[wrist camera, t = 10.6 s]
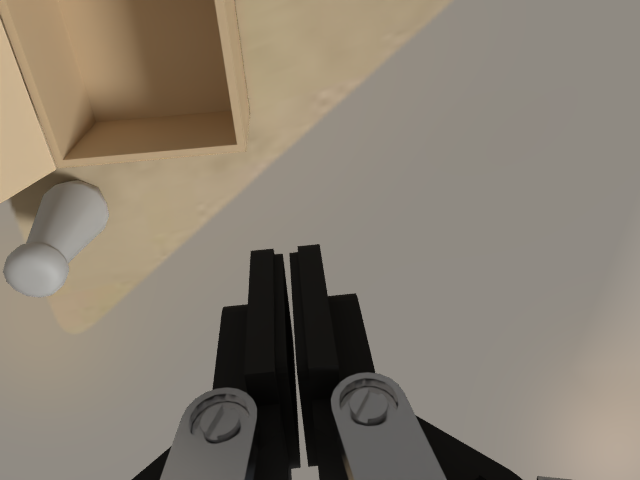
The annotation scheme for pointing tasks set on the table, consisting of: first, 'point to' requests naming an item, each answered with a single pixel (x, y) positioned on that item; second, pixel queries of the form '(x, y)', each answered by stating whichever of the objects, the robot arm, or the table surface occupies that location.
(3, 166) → the flap
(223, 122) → the carton
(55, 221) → the salt shaker
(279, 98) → the table surface
